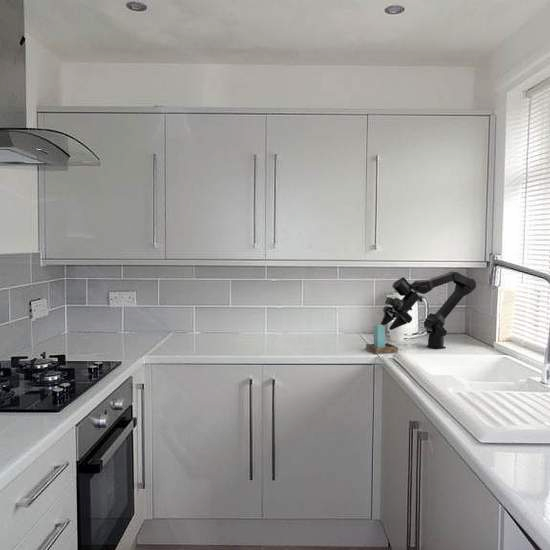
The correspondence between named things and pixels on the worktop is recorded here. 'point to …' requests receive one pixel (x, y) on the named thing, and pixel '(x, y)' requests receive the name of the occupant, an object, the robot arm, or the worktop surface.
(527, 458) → the worktop surface
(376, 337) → the peg
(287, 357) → the worktop surface
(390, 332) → the white cup
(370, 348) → the tray
